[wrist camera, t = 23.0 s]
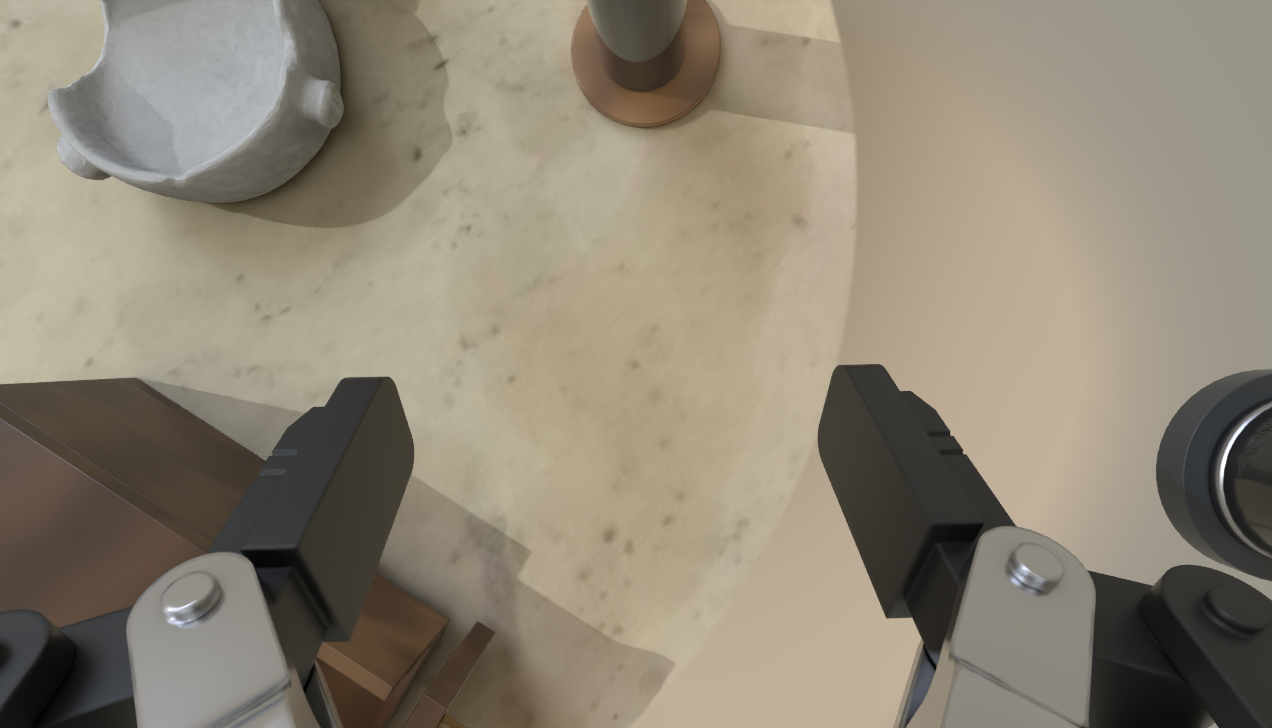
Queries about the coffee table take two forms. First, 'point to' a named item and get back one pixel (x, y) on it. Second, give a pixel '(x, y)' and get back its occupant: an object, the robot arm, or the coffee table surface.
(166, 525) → the cabinet
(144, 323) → the coffee table surface
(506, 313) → the coffee table surface
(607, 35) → the cylinder
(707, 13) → the coaster
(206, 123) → the dish
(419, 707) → the drawer
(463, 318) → the coffee table surface
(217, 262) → the coffee table surface
